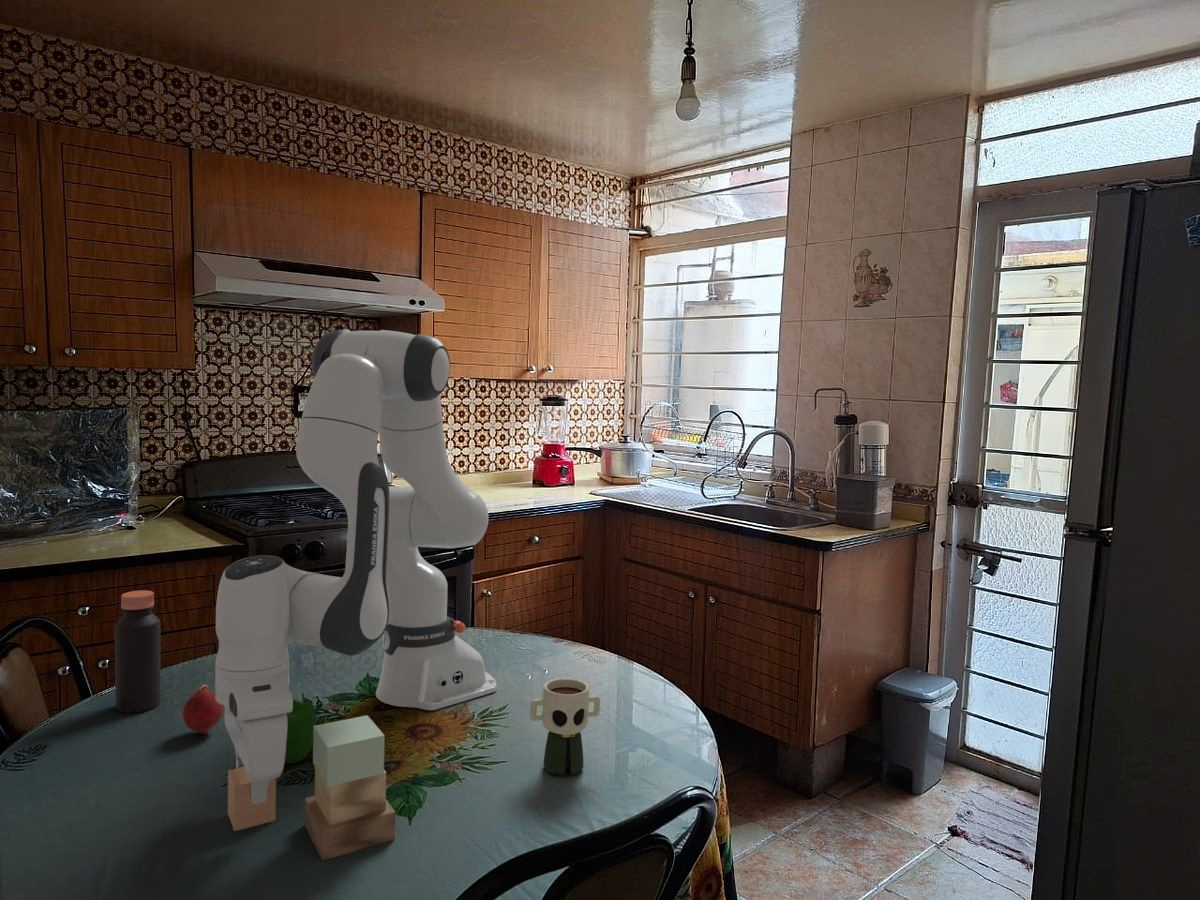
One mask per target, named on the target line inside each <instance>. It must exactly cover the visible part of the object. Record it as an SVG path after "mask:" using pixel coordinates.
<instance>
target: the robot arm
mask: <svg viewBox="0 0 1200 900" xmlns="http://www.w3.org/2000/svg"><path fill="white" fill-rule="evenodd" d="M311 369H312V374H313V376H314V379H313V380H312V383H311V386H310V390H309V391H308V395H307V397H306V400H305V405H304V407H303V412H302V416H301V420H300V424H299V428H298V432H297V436H296V441H295V443H296V444H295V446H296V447H295V450H296V459H297V462H298V463H299V466H300V468H301V470H302V471H303V473H304V474H306V475H307V477H308V478H309V479H310V480H311V481H313V483H315V484H316V485H317V486H319V487H321V488H323V489H324V490H325V491H327V492H329V493H330V494H332V495H333V496H334V497H335V498H337V499H338V500H339V501H340V502H341V503H342V505H343V506H344V509H345V512H346V514H347V536H346V537H347V538H346V554H345V569H344V573H343V575H342V577H341V576H333V575H329V574H328V575H327V574H323V573H322V574H321V573H318V572H311V571H306V570H303V569H298V568H295V567H293V566H291V565H289V564H287V563H286V562H285V561H284V559H283V558H282V557H280V556H277V555H276V556H275V555H270V554H269V555H268V554H265V555H264V554H261V555H254V556H248V557H243V558H241V559H238V560H236V561H234V562H233V563H231V564H229V565H228V566H227V567H225V569H224V570H223V573H222V575H221V577H220V581H219V584H218V588H217V589H218V590H217V594H216V595H217V597H216V604H215V605H216V606H215V634H216V636H217V640H218V649H217V650H218V651H217V654H216V656H215V662H214V663H215V664H214V682H215V683H214V693H215V700H216V702H218V703H219V704H221V705H223V707H224V711H223V712H224V714H223V715H224V717H223V718H224V727H225V729H226V731H227V734H228V735H229V737H230V739H231V742H232V743H233V746H234V752H235V768H240V767H245V769H246V771H247V773H248V775H249V778H250V780H251V786H250V799H251V801H252V803H253V804H259V803H263V802H265V801H266V800H267V788H268V785H269V781H270V779H274V778H276V779H277V778H280V777H281V775H282V773H283V770H284V769H285V764H286V763H285V753H286V742H287V726H288V723H287V714H286V713H290V712H292V709H293V700H294V699H293V696H292V691H291V687H290V672H289V671H290V668H289V667H290V664H289V663H290V654H289V649H288V646H289V645H290V644H292V643H294V642H297V643H299V644H303V645H304V644H305V645H308V646H309V645H310V646H314V647H315V646H316V647H321V648H325V649H327V650H329V651H333V652H336V653H339V654H342V655H345V656H349V657H350V656H351V657H352V656H357V655H359V654H362V653H363V652H365V651H367V650H368V649H370V648H371V647H372V646H373V645H374V644H376V643H377V642H378V641H379V640H380V639H381V637H382V649H383V651H384V652H383V661H382V668H381V673H380V676H379V677H380V678H379V682H378V685H377V688H376V691H375V697H376V699H377V700H379V701H380V702H381V703H384V704H386V705H387V704H388V705H390V706H395V707H401V708H417V709H420V710H426V711H436V710H438V709H443V708H445V707H449V706H452V705H455V704H459V703H462V702H466V701H468V700H473V699H475V698H478V697H482V696H486V695H488V694H492V693H494V692H496V691H497V680H496V679H495V678H494V677H493V675H491V674H490V673H489V672H487V671H486V668H485V664H484V658H483V657H482V656H481V654H480V653H479V651H477V650H476V649H475V648H474V647H473V646H471V645H470V644H468V643H467V642H465V641H464V640H463V639H462V638H460V637H459V636H457V635H456V633H457V634H462V633H464V631H465V630H466V624H465V623H464V622H462V621H460V620H456V619H453V618H452V617H451V616H450V617H449V616H448V615H447V614H448V581H447V579H446V576H445V575H444V573H443V572H442V571H441V570H440V569H439V568H437V567H436V566H435V565H432V564H430V563H429V562H427V561H426V560H425V559H424V557H422V555H421V553H420V551H419V547H421V548H437V549H438V548H439V549H458V548H465V547H470V546H475V545H476V544H478V543H479V542H480V541H481V540H482V539H483V537H484V536H485V534H486V532H487V529H488V525H489V521H490V520H489V511H488V507H487V505H486V503H485V501H484V499H483V498H482V497H481V496H480V495H479V494H477V493H476V492H474V491H473V490H472V489H471V488H470V487H468V486H467V485H466V484H465V483H464V481H462V479H460V477H459V476H458V475H457V474H456V472H455V470H454V468H453V467H452V465H451V462H450V460H449V458H448V453H447V447H446V442H445V434H444V433H445V432H444V423H443V422H444V421H443V409H442V402H441V396H440V395H441V394H442V393H443V392H444V390H446V387H447V386H448V384H449V379H450V373H451V372H450V371H451V361H450V354H449V352H448V349H447V348H446V347H445V345H444V344H443V343H442V342H441V340H440V339H438V338H436V337H433V336H430V335H425V334H421V333H419V334H412V333H408V332H402V331H396V330H387V329H386V330H385V329H380V330H352V331H351V330H350V329H340V330H339V329H338V330H333V331H328V332H326V333H324V335H323V336H321V338H320V339H318V341H316V344H315V346H314V347H313V350H312V354H311ZM378 439H379V444H380V453H381V459H382V461H383V464H384V465H385V467H386V468H387V469H388V471H390V473H392V474H394V475H395V476H397V477H399V478H401V480H402V479H403V480H404V481H405V482H406V483H407V484H409V485H410V486H397V485H394V486H392V485H390V484H389V483H390V482H389V478H388V475H387V473H386V472H385V470H384V469H382V467H380V464H379V463H380V462H379V458H378Z"/></svg>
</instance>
